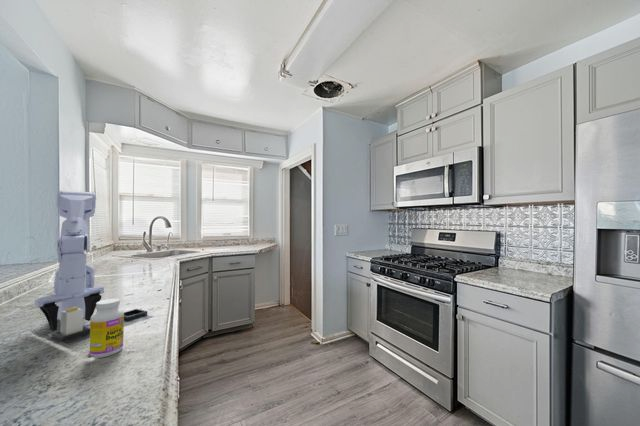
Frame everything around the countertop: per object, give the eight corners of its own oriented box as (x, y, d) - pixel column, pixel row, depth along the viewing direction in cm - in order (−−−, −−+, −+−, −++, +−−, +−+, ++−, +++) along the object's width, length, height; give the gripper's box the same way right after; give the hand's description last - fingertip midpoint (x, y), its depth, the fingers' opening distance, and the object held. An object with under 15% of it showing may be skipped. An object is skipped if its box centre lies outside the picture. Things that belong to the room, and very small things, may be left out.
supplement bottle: (104, 360, 62) (105, 306, 62) (82, 357, 63) (83, 304, 63) (129, 347, 68) (130, 298, 69) (109, 344, 69) (110, 296, 70)
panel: (45, 337, 74) (45, 330, 74) (130, 312, 94) (130, 307, 94) (68, 347, 68) (68, 340, 68) (154, 318, 88) (154, 312, 88)
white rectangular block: (60, 336, 73) (60, 309, 73) (76, 331, 76) (77, 305, 76) (66, 339, 71) (66, 310, 72) (82, 333, 75) (83, 307, 75)
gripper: (43, 284, 66) (42, 337, 66) (109, 273, 79) (108, 318, 79) (32, 281, 69) (30, 332, 69) (97, 271, 82) (96, 314, 82)
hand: (71, 324), depth 74 cm, fingers open, 7 cm apart
